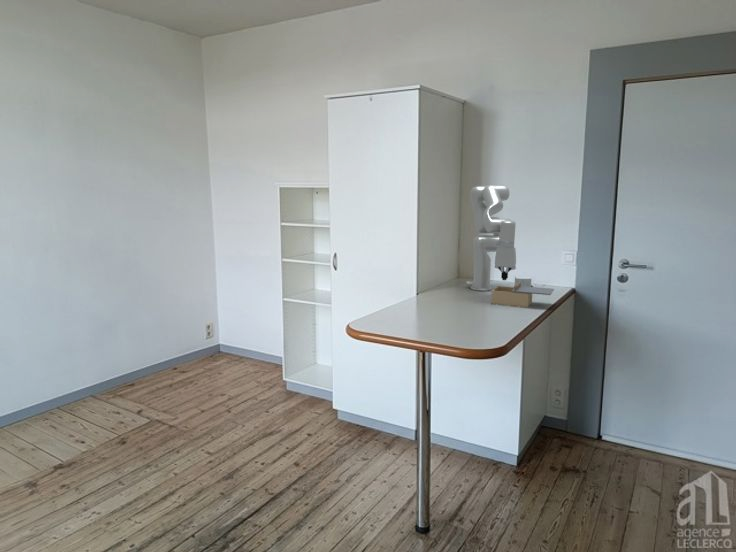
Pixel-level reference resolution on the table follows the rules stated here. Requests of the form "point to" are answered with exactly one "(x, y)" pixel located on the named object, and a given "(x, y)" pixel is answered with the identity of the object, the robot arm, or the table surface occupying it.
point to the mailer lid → (531, 290)
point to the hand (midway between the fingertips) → (504, 279)
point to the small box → (523, 281)
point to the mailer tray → (510, 297)
